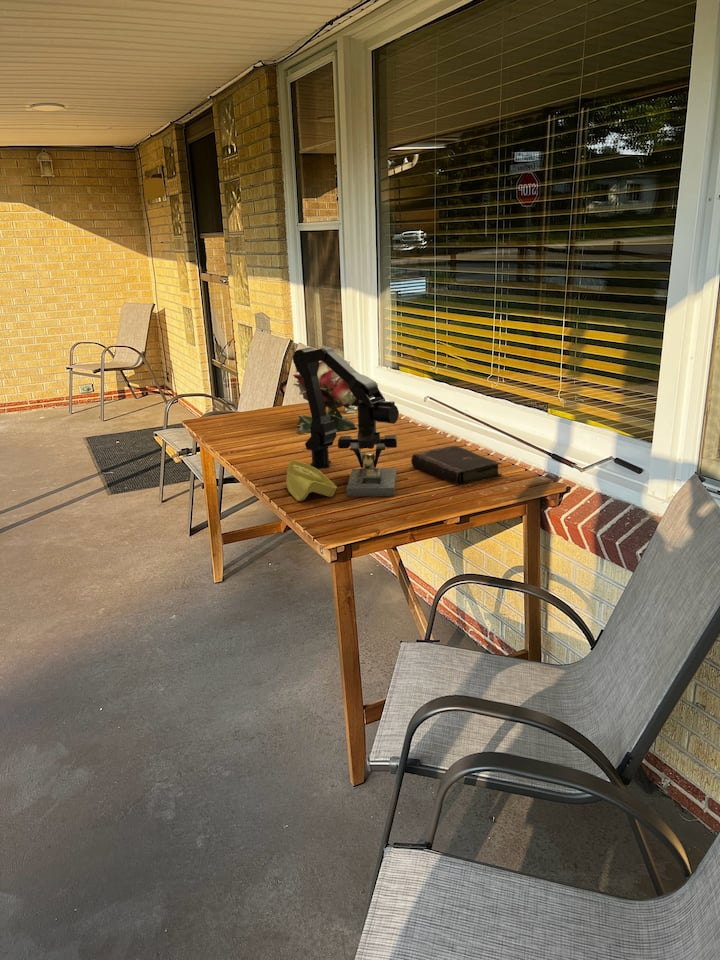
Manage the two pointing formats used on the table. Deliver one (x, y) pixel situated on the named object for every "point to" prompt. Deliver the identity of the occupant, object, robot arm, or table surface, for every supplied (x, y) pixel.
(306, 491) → the plastic component
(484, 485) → the table surface
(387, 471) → the flange plate
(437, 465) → the diary
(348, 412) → the pneumatic valve
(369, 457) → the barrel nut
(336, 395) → the rose bouquet
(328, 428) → the robot arm
